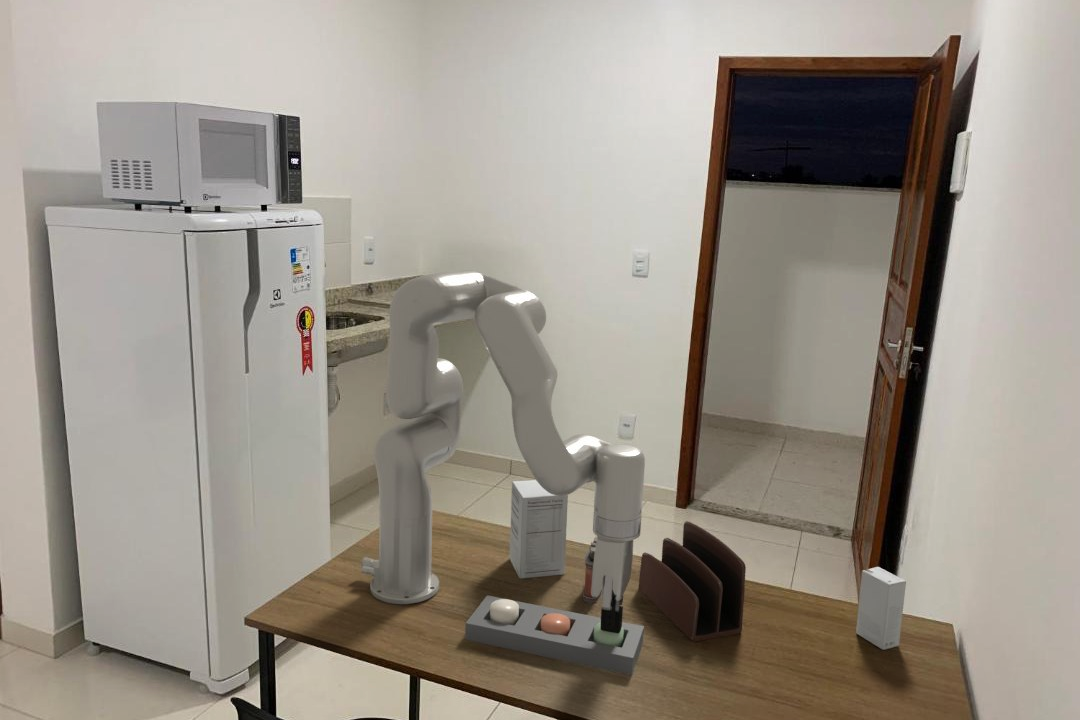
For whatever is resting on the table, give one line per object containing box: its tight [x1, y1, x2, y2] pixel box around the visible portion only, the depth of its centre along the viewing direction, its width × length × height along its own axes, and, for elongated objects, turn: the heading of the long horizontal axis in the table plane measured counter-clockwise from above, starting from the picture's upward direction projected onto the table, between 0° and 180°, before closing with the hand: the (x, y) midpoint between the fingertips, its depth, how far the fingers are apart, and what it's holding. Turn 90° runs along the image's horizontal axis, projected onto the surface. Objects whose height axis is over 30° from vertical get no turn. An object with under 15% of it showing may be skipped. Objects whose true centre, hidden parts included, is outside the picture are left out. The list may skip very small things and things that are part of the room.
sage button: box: [593, 622, 624, 648], centre depth 129 cm, size 5×5×3 cm
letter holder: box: [638, 520, 747, 643], centre depth 143 cm, size 10×20×14 cm, turn 21°
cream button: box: [490, 598, 519, 626], centre depth 134 cm, size 5×5×3 cm
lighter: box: [582, 536, 602, 603], centre depth 149 cm, size 8×3×10 cm, turn 168°
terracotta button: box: [541, 613, 570, 636], centre depth 132 cm, size 5×5×3 cm
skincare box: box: [855, 566, 907, 650], centre depth 136 cm, size 6×4×12 cm
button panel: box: [464, 595, 645, 676], centre depth 132 cm, size 28×10×3 cm, turn 73°
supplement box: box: [509, 479, 569, 579], centre depth 157 cm, size 10×9×17 cm
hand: (611, 629), depth 129 cm, fingers closed
